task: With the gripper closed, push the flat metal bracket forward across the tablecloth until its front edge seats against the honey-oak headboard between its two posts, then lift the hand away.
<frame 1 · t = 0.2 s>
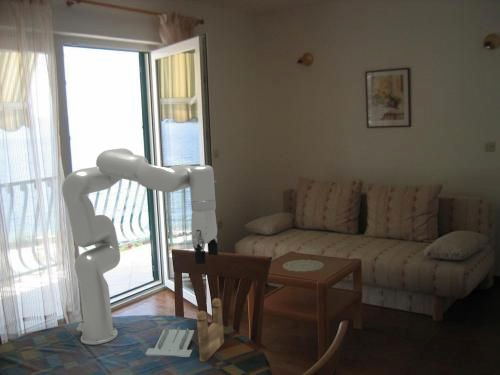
hand: (207, 259, 158), 31 cm above the table, tool pointing down, fingers open, 9 cm apart
headboard: (212, 351, 163), on the table
metal bracket: (174, 348, 168), on the table
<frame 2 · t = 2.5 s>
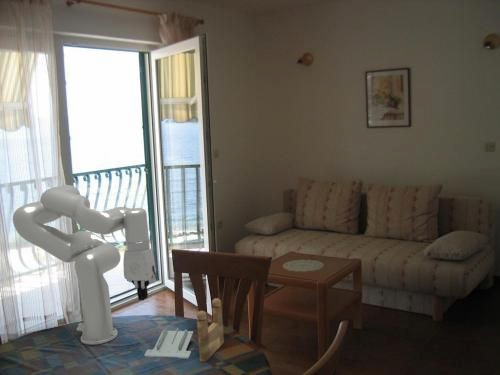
hand: (143, 298, 169), 16 cm above the table, tool pointing down, fingers closed
nothing on the table moved.
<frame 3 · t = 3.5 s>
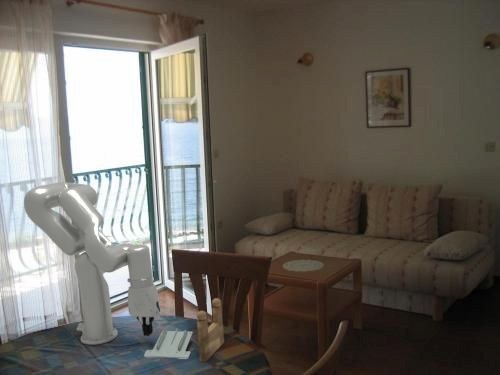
hand: (148, 334, 171), 3 cm above the table, tool pointing down, fingers closed
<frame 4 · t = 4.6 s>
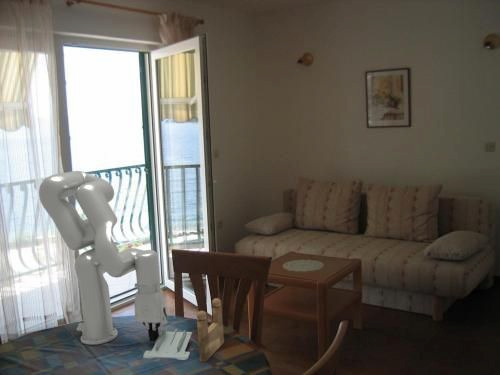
hand: (154, 339, 170), 2 cm above the table, tool pointing down, fingers closed
metal bracket: (171, 351, 166), on the table, touching gripper
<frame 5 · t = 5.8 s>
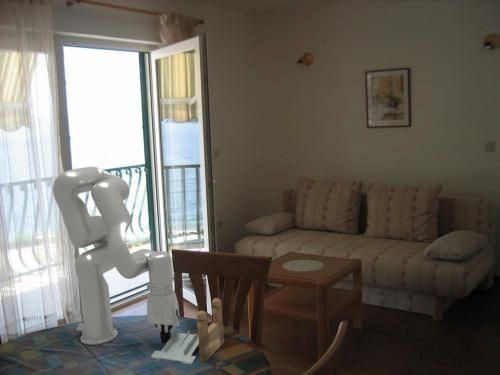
hand: (166, 341, 169), 1 cm above the table, tool pointing down, fingers closed
metal bracket: (181, 353, 164), on the table
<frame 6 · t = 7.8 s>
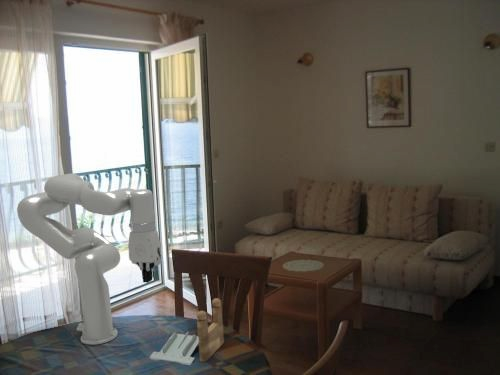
hand: (147, 281, 168), 22 cm above the table, tool pointing down, fingers closed
nothing on the table moved.
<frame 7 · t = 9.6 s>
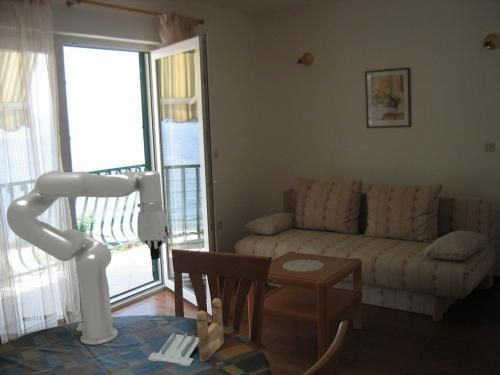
hand: (155, 258, 176), 27 cm above the table, tool pointing down, fingers closed
at the end: metal bracket inside the target area (4.5 cm from its centre), on the table; metal bracket moved 5.6 cm from its start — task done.
